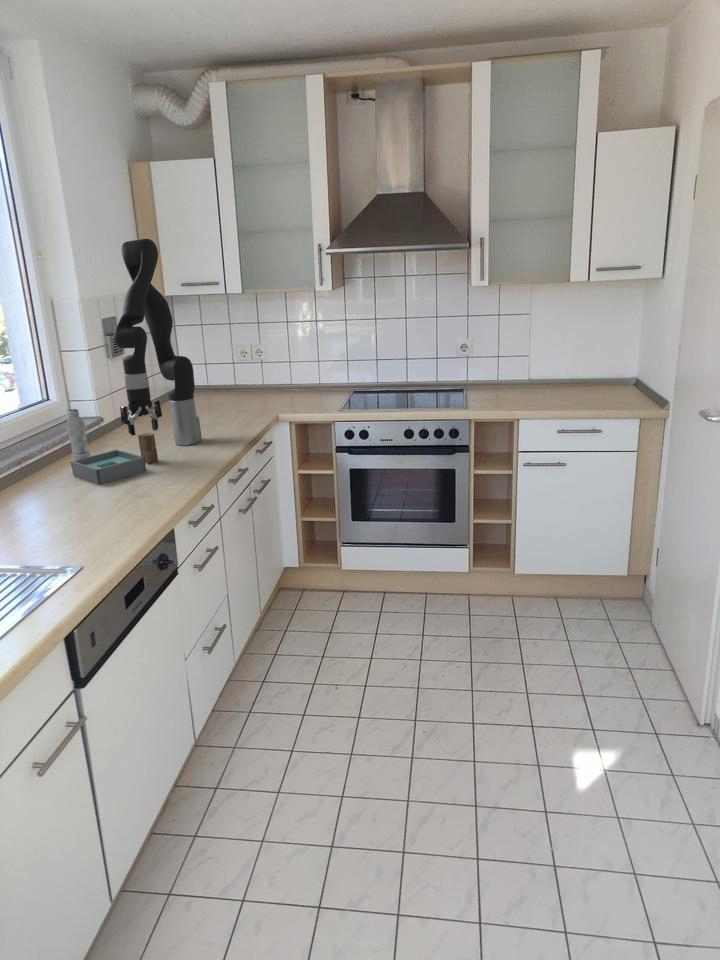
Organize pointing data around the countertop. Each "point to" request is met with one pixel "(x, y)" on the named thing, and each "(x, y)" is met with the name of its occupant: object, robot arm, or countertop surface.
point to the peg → (148, 447)
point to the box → (108, 466)
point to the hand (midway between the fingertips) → (144, 432)
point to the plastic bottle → (77, 435)
